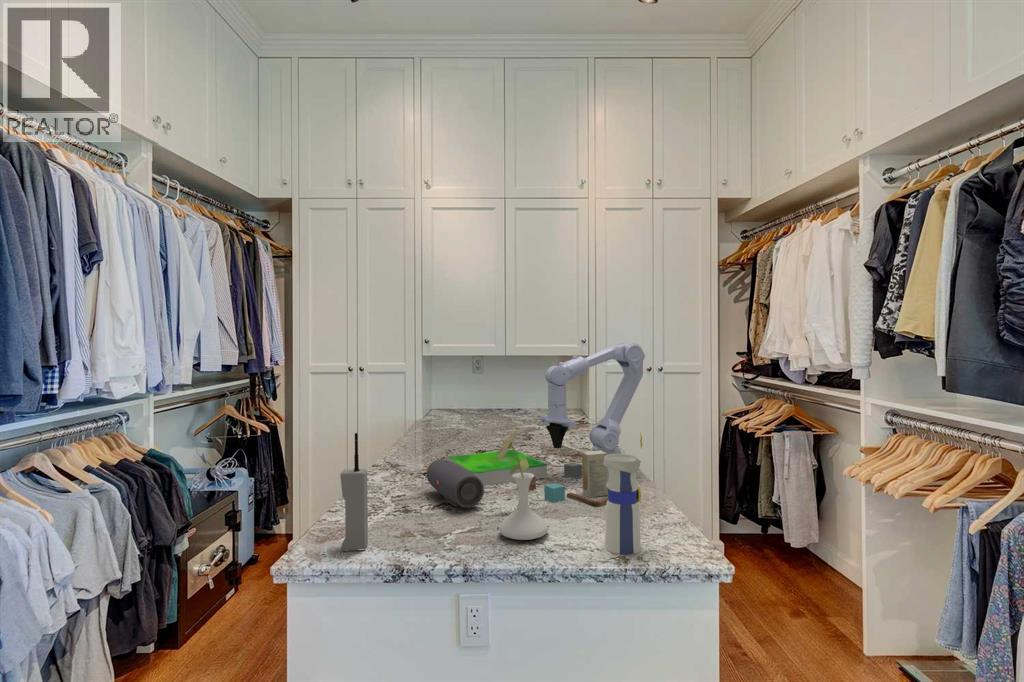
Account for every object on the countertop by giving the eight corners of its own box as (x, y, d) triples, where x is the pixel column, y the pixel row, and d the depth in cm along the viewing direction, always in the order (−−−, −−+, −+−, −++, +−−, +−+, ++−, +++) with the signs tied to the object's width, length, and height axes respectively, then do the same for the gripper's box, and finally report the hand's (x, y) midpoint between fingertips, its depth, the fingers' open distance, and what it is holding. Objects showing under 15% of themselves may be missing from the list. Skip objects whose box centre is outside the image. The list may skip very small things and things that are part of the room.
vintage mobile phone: (344, 545, 121) (343, 431, 121) (367, 544, 122) (366, 431, 122) (341, 551, 118) (339, 434, 117) (364, 550, 118) (363, 434, 118)
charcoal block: (573, 474, 182) (573, 462, 182) (581, 476, 178) (581, 464, 178) (564, 476, 179) (564, 464, 179) (572, 478, 176) (572, 466, 176)
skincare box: (602, 491, 161) (602, 449, 161) (608, 496, 157) (608, 452, 157) (581, 493, 160) (581, 451, 159) (587, 497, 155) (586, 454, 155)
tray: (447, 471, 189) (447, 456, 189) (514, 463, 200) (513, 449, 200) (473, 489, 167) (473, 472, 166) (547, 479, 177) (546, 464, 177)
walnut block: (527, 487, 167) (527, 473, 167) (535, 490, 164) (535, 476, 164) (517, 489, 165) (517, 475, 165) (525, 492, 161) (525, 478, 161)
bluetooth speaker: (424, 493, 161) (424, 458, 161) (454, 488, 166) (454, 455, 165) (452, 515, 141) (452, 476, 141) (486, 509, 145) (485, 471, 145)
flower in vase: (519, 523, 135) (518, 420, 134) (558, 534, 127) (557, 425, 127) (483, 539, 124) (482, 428, 124) (523, 551, 117) (522, 433, 117)
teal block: (555, 497, 156) (555, 483, 156) (564, 500, 153) (564, 486, 153) (544, 499, 154) (544, 485, 154) (553, 503, 151) (553, 488, 151)
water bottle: (636, 539, 124) (636, 427, 123) (647, 554, 115) (646, 434, 115) (600, 539, 123) (599, 427, 123) (608, 555, 115) (607, 434, 115)
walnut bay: (600, 489, 164) (600, 485, 164) (629, 498, 154) (629, 494, 154) (566, 496, 156) (566, 493, 156) (595, 507, 147) (595, 503, 147)
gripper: (532, 403, 176) (532, 445, 176) (563, 407, 165) (563, 453, 165) (549, 401, 180) (549, 443, 181) (580, 405, 169) (580, 450, 169)
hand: (557, 447), depth 173 cm, fingers closed
